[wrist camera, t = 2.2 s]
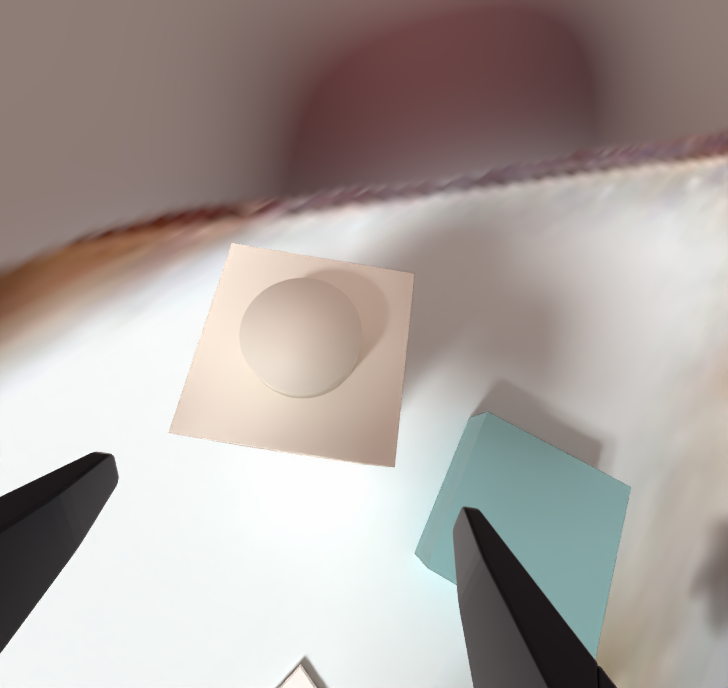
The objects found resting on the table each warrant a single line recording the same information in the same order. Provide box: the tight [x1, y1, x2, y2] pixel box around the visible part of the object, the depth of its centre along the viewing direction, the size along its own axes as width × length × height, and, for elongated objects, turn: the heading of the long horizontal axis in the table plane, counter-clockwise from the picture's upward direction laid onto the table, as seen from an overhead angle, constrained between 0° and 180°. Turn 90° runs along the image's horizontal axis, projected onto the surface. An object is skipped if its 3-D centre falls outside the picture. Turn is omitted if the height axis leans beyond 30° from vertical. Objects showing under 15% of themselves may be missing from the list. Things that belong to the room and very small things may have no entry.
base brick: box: [415, 412, 631, 659], centre depth 18 cm, size 8×8×3 cm
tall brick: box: [169, 243, 415, 467], centre depth 13 cm, size 4×4×14 cm
